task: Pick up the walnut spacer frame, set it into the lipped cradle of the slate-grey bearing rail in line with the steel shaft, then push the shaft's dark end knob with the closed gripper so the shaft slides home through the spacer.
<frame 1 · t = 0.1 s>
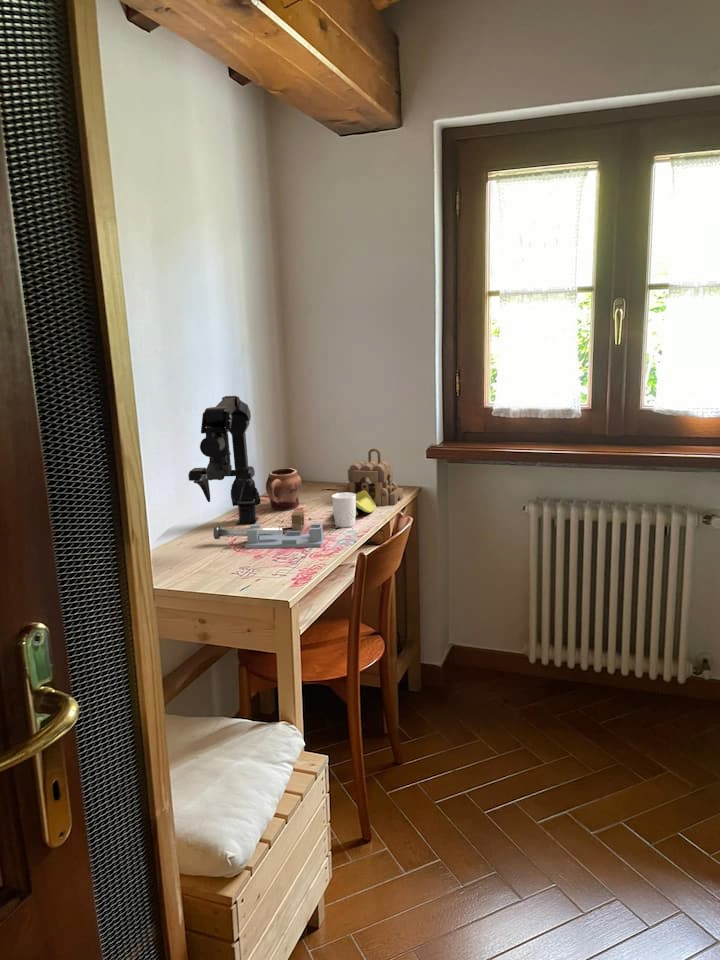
hand: (224, 501, 219), 15 cm above the table, fingers open, 9 cm apart
shaft: (249, 532, 225), point 4 cm above the table, slide at 0.0 cm
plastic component: (354, 514, 255), on the table
white cup: (345, 525, 242), on the table
spacer: (298, 529, 239), on the table
bearing rail: (285, 542, 225), on the table
tan backpack: (370, 501, 271), on the table
decorative planter: (284, 509, 265), on the table
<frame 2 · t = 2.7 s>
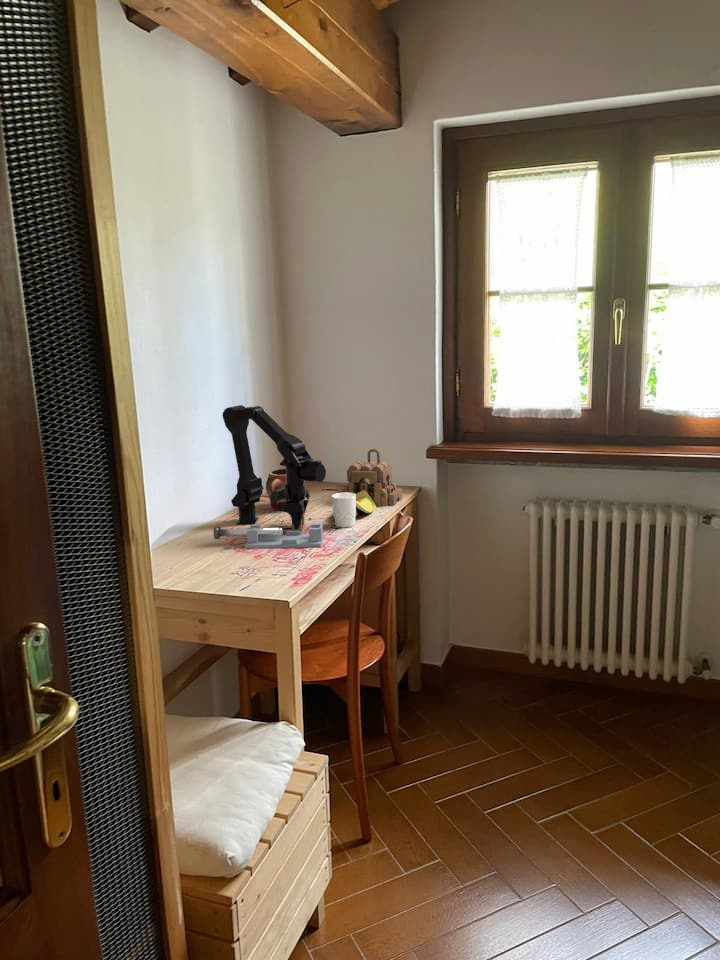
hand: (298, 525, 239), 1 cm above the table, fingers closed on spacer, 7 cm apart
spacer: (298, 529, 239), on the table, touching gripper
everything else where it was.
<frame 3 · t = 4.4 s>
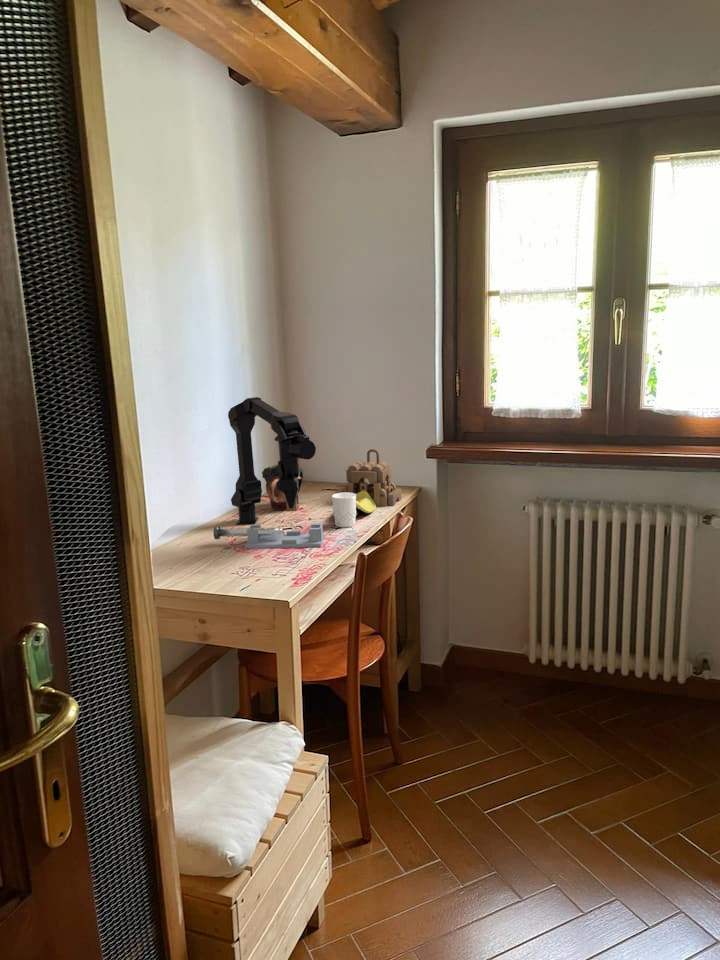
hand: (292, 505, 227), 11 cm above the table, fingers closed on spacer, 7 cm apart
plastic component: (353, 514, 255), on the table, touching tan backpack
spacer: (293, 508, 228), point 9 cm above the table, touching gripper
tan backpack: (369, 501, 270), on the table, touching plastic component
everything else where it was.
when the fingers open (3 cm above the table, at t = 6.2 s): spacer drops 1 cm, resting on bearing rail.
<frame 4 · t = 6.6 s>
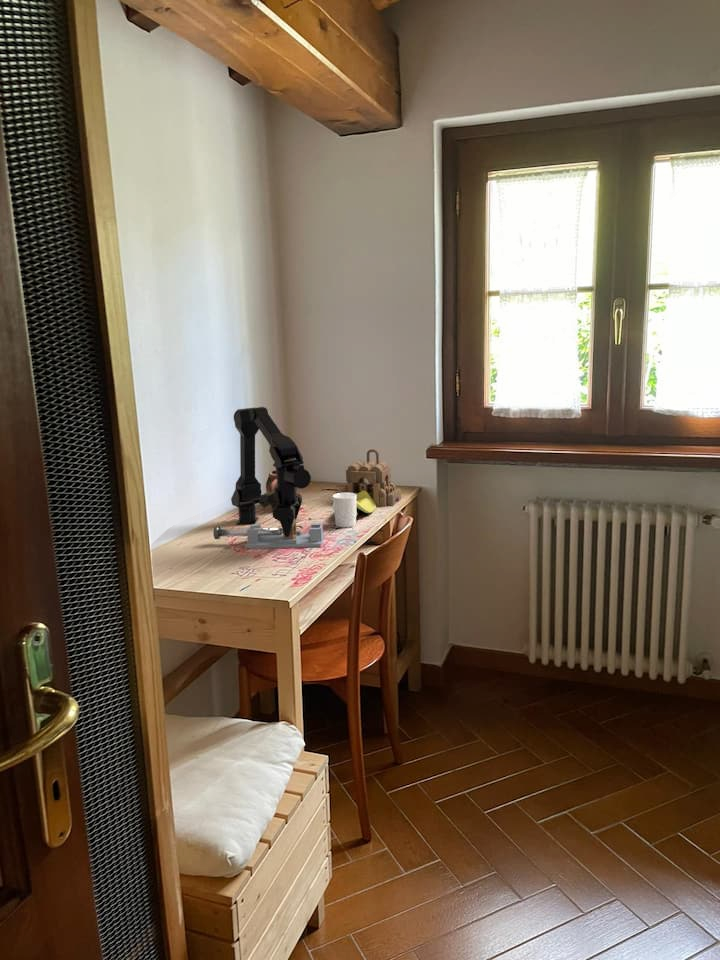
hand: (289, 532, 225), 3 cm above the table, fingers open, 9 cm apart
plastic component: (354, 514, 255), on the table, touching white cup
white cup: (345, 525, 242), on the table, touching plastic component
spacer: (290, 539, 225), point 1 cm above the table, touching bearing rail
tan backpack: (369, 501, 270), on the table
everything else where it was.
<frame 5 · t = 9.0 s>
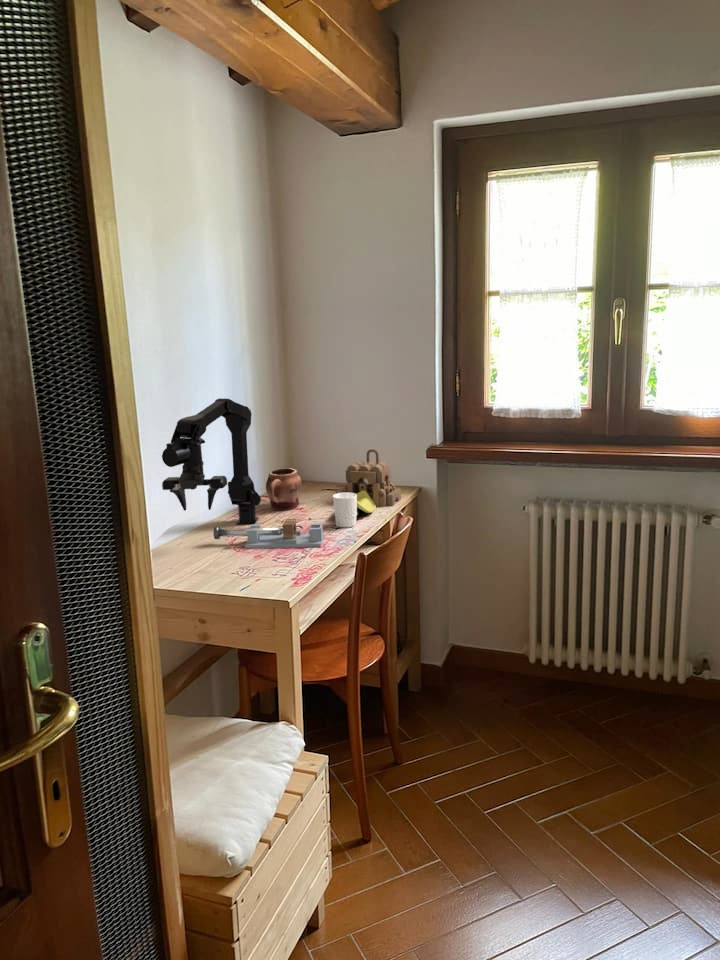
hand: (197, 510, 225), 11 cm above the table, fingers open, 7 cm apart
nothing on the table moved.
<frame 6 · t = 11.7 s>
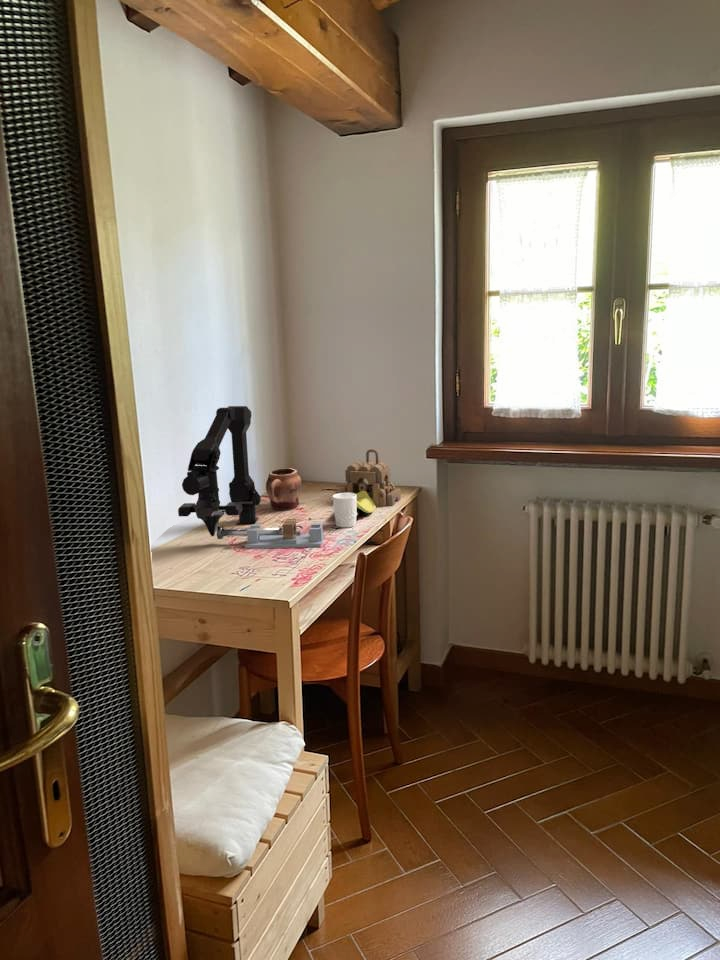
hand: (212, 535, 226), 3 cm above the table, fingers closed
shaft: (252, 532, 225), point 4 cm above the table, slide at 1.0 cm, touching gripper
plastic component: (354, 514, 254), on the table
white cup: (346, 525, 241), on the table
everything else where it was.
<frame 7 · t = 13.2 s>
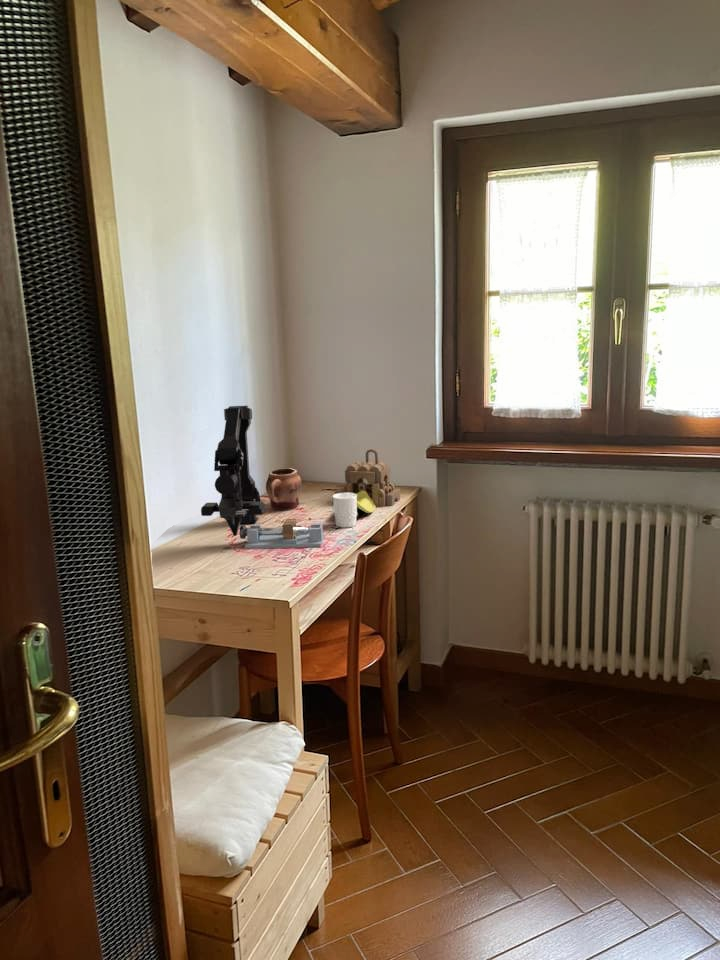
hand: (235, 535, 226), 3 cm above the table, fingers closed
shaft: (275, 531, 225), point 4 cm above the table, slide at 8.1 cm, touching gripper
everything else where it was.
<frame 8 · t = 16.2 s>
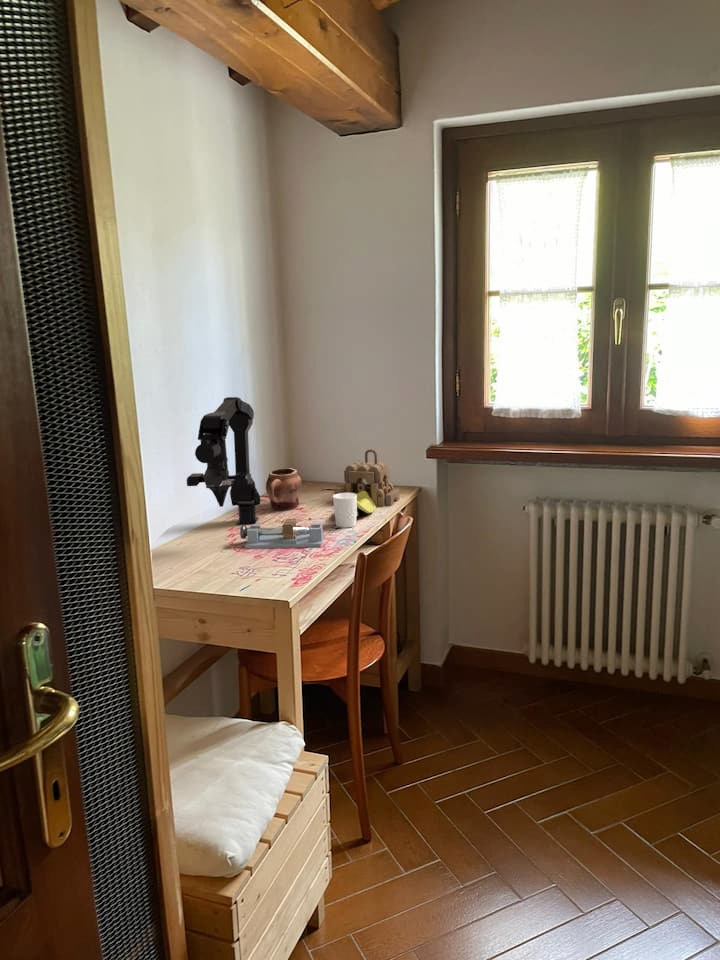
hand: (221, 506, 224), 12 cm above the table, fingers closed
shaft: (275, 531, 225), point 4 cm above the table, slide at 8.3 cm
everything else where it was.
at the end: shaft slide at 8.3 cm; spacer 2.4 cm from the target spot on the bearing rail, point 1.0 cm above the bearing rail's base; spacer tilted 0° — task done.
